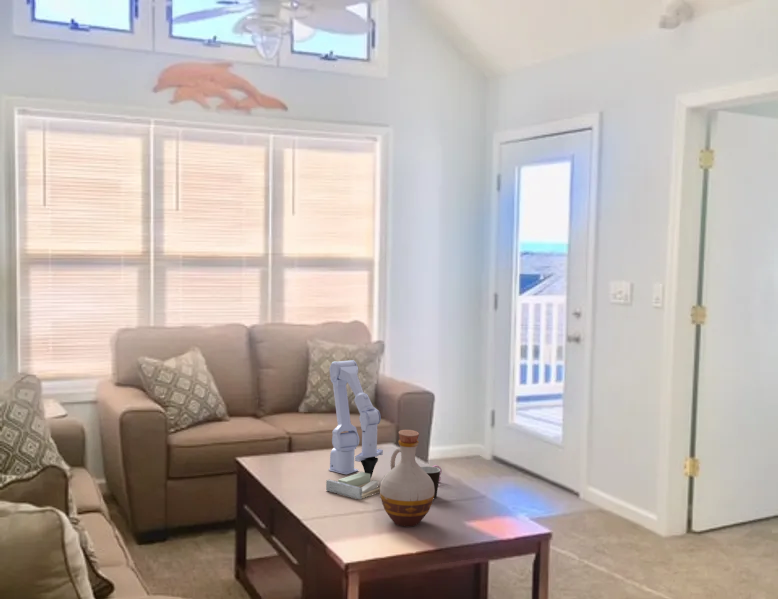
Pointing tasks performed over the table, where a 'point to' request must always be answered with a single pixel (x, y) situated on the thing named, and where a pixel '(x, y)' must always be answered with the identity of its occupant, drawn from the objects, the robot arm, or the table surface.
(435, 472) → the coffee mug
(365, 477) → the sage bar
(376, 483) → the white bar
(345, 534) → the table surface
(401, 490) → the jug
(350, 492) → the organizer
